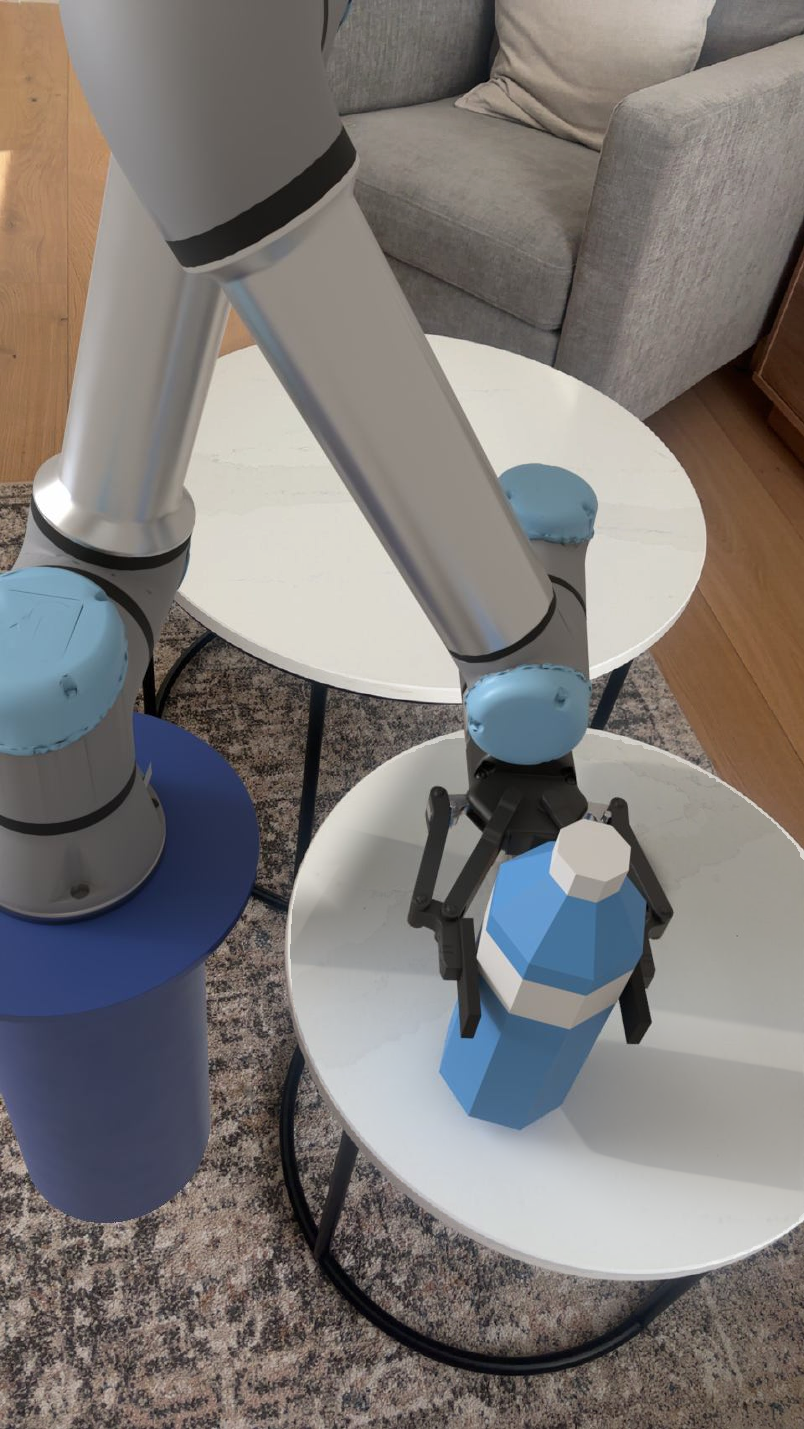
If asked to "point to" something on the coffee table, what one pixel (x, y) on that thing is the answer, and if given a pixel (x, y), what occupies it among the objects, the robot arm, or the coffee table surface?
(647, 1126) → the coffee table surface
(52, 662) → the robot arm
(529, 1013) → the water bottle
